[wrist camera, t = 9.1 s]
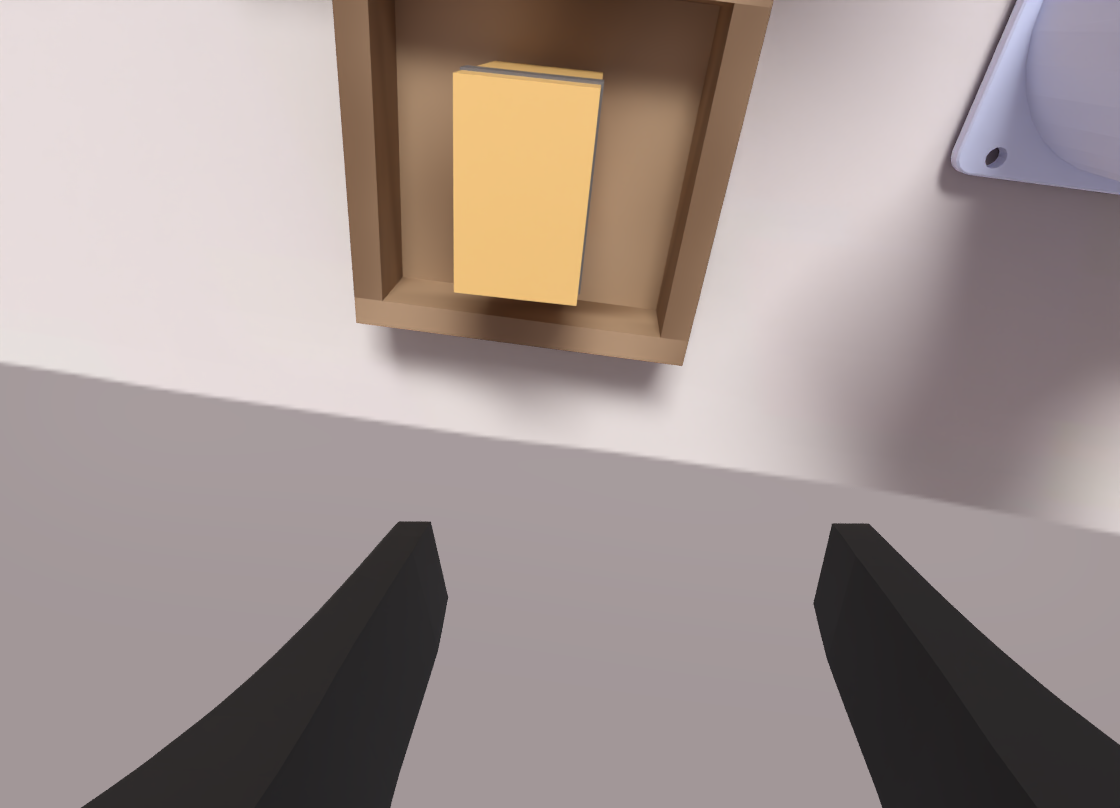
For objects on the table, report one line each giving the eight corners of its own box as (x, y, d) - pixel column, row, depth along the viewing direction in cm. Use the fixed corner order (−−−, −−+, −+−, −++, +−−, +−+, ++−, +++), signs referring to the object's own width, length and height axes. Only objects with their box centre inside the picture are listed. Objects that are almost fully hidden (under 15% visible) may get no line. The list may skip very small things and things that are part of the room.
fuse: (605, 69, 16) (603, 85, 11) (585, 242, 18) (578, 308, 14) (493, 58, 16) (450, 69, 11) (489, 231, 18) (451, 294, 14)
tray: (757, -29, 15) (783, -38, 13) (674, 328, 20) (682, 366, 18) (367, -80, 15) (325, -99, 13) (384, 290, 20) (356, 322, 18)
